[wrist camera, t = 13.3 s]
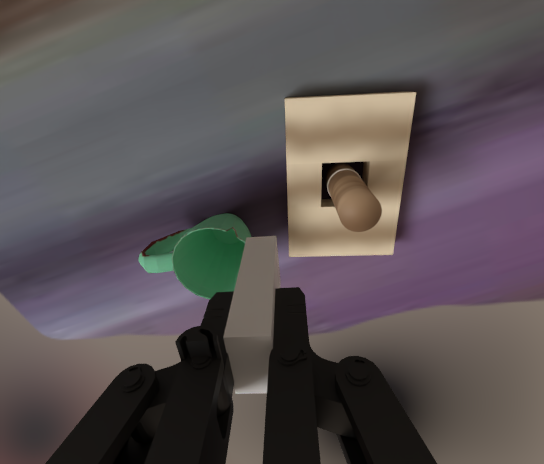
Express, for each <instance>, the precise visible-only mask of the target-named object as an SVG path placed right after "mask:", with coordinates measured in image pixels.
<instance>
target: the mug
mask: <svg viewBox="0 0 544 464" xmlns="http://www.w3.org/2000/svg"><path fill="white" fill-rule="evenodd" d="M247 237H251V234H250V232H249V230H248V228H247V226H246V225H245V224H244V222H243V221H242V220H241V219H240V218H239V217H237V216H236V215H234V214H228V213H225V214H220V215H215V216H212V217H210V218H208V219H206V220H204V221H203V222H201V223H199V224H198V225H196V226H195V227H193V228H191V229H186V230H182V231H178V232H176V233H173V234H171V235H168V236H166V237H163V238H161V239H158V240H156V241H153V242H151V243H150V244H149V245H148V246H147V247H146V248H145V249H144V250H143V251H142V252H141V254H140V256H139V262H140V264H141V265H142V267H143V268H144V269H145V270H146V271H147V272H148V273H160V272H167V271H174V272H175V274H176V276H177V279H178V280H179V281H180V282H181V283H182V284H183V286H184V287H185V288H186V289H188V290H189V291H191V292H193V293H194V294H196V295H198V296H201V297H204V298H207V299H211V298H212V297H213V296H214V294H215V293H216V292H230V291H234V289H235V285H236V281H237V276H238V272H239V268H240V264H241V259H242V255H243V251H244V246H245V242H246V238H247ZM171 251H173V252H172V253H169V252H171Z"/></svg>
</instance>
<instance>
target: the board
mask: <svg viewBox="0 0 544 464" xmlns="http://www.w3.org/2000/svg"><path fill="white" fill-rule="evenodd" d="M415 97H416V92H388V93H369V94H349V95H330V96H310V97H290V98H285V123H286V159H287V195H288V232H289V257H306V256H353V255H393V250H394V243H395V236H396V229H397V222H398V215H399V208H400V201H401V194H402V187H403V180H404V174H405V167H406V160H407V153H408V146H409V139H410V132H411V125H412V118H413V111H414V104H415ZM339 162H364V163H363V175H362V180H363V182H364V183H365V184H366V186H367V187H368V188H369V189H370V191H371V192H372V193H373V194H374V196H375V197H376V198H377V199H378V201H379V202H380V204H381V207H382V214H381V217H380V220H379V221H378V223H377V224H376V225H375V226H374V227H372V228H371V229H369V230H367V231H363V232H353V231H350V230H348V229H346V228H345V227H344V226H343V225H342V223H341V221H340V219H339V216H338V214H337V211H336V209H335V206H334V204H333V201H332V199H321V186H322V163H339Z"/></svg>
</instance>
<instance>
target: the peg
mask: <svg viewBox="0 0 544 464" xmlns="http://www.w3.org/2000/svg"><path fill="white" fill-rule="evenodd" d="M325 183H326V186H327V190H328V193H329V195H330V196H331V198H332V201H333V204H334V206H335V209H336V211H337V214H338V216H339V219H340V221H341V223H342V225H343V226H344V227H345V228H346V229H348V230H350V231H353V232H363V231H367V230H369V229H371V228H372V227H374V226H375V225H376V224H377V223H378V221H379V220H380V217H381V214H382V207H381V204H380V202H379V201H378V199H377V198H376V197H375V196H374V194H373V193H372V192H371V191H370V189H369V188H368V187H367V186H366V184H365V183H364V182H363V180H362V179H361V177H360V176H359V174H358V173H357V172H356V171H355V170H354V169H353V168H352V167H351V166H350V165H348V164H345V163H338V164H335V165H333V166H332V167H330V168H329V169H328V171H327V173H326V175H325Z"/></svg>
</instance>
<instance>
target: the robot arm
mask: <svg viewBox="0 0 544 464" xmlns="http://www.w3.org/2000/svg"><path fill="white" fill-rule="evenodd" d="M176 345H177V348H178V352H179V355H180V358H181V362H179V363H178V364H176V365H173V366H171V367H167V368H164V369H161V370H158V371H154V369H153V368H152V366H150V365H148V364H136V365H133V366H130V367H128V368H127V369H125V370H123V371H122V372H121V373H120V374H119V375H118V376H117V377H116V378H115V379H114V380H113V381H112V383H111V384H110V385H109V386H108V387H107V389H106V390H105V391H104V392H103V394H102V395H101V396H100V397H99V399H98V400H97V401H96V402H95V403H94V405H93V406H92V407H91V408H90V409H89V411H88V412H87V413H86V414H85V416H84V417H83V418H82V419H81V421H80V422H79V423H78V424H77V425H76V427H75V428H74V429H73V430H72V432H71V433H70V434H69V435H68V437H67V438H66V439H65V440H64V441H63V443H62V444H61V445H60V447H59V448H58V449H57V450H56V451H55V453H54V454H53V455H52V456H51V457H50V459H49V460H48V461H47V462H46V464H225V463H226V457H227V450H228V442H229V436H230V430H231V423H232V416H233V401H232V393H233V387H234V388H235V393H236V394H251V393H267V401H266V417H265V434H264V451H263V464H320V453H319V443H318V431H317V427H319V428H322V429H325V430H327V431H330V432H333V433H336V435H337V438H338V440H339V443H340V446H341V449H342V451H343V454H344V457H345V459H346V462H347V464H437V463H436V461H435V459H434V458H433V456H432V455H431V453H430V451H429V450H428V448H427V446H426V445H425V443H424V441H423V440H422V438H421V437H420V435H419V433H418V432H417V430H416V429H415V427H414V425H413V424H412V422H411V420H410V419H409V417H408V416H407V414H406V412H405V410H404V409H403V407H402V406H401V404H400V403H399V401H398V399H397V397H396V396H395V394H394V393H393V391H392V389H391V388H390V386H389V384H388V383H387V381H386V379H385V378H384V376H383V375H382V373H381V371H380V370H379V369H378V367H377V366H376V365H375V364H374V363H373V362H371V361H369V360H368V359H366V358H363V357H359V356H349V357H346V358H344V359H342V360H341V361H340V362H339V363H336V362H332V361H328V360H325V359H323V358H321V357H319V356H318V355H316V354H315V353H314V352H313V350H312V349H311V347H310V344H309V337H308V326H307V315H306V304H305V295H304V293H303V292H302V291H301V289H300V288H299V287H296V288H280V271H279V261H278V250H277V239H276V236H264V237H247V238H246V242H245V246H244V251H243V255H242V259H241V264H240V268H239V272H238V276H237V281H236V285H235V289H234V291H230V292H216V293H215V294H214V296H213V297H212V298H211V299H210V300H209V302H208V305H207V308H206V311H205V314H204V319H203V320H202V323H201V326H197V327H193V328H190V329H188V330H186V331H185V332H184V333H182V334H181V335H180V336H179V337H178V339H177V341H176Z"/></svg>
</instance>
